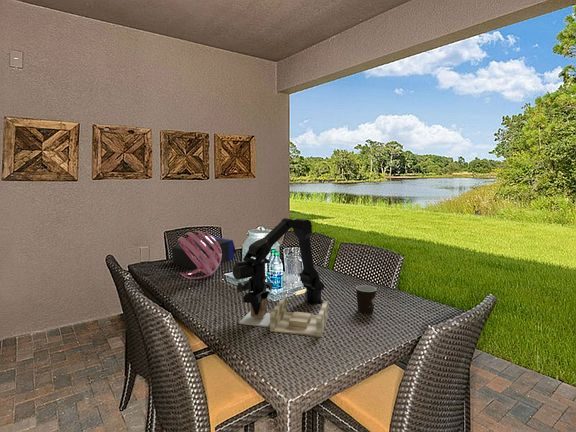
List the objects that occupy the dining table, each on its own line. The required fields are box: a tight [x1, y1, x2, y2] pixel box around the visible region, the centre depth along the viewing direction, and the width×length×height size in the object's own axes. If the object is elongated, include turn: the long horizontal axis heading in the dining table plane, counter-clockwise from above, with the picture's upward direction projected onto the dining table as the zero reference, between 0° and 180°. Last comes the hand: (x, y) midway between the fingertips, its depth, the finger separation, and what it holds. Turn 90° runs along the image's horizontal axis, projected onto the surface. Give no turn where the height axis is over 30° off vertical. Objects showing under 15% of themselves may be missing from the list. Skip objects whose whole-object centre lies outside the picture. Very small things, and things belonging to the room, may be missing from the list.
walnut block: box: [250, 298, 268, 318], centre depth 140 cm, size 5×5×6 cm
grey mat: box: [238, 310, 271, 328], centre depth 140 cm, size 12×12×1 cm
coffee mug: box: [355, 284, 377, 315], centre depth 149 cm, size 12×9×10 cm
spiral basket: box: [177, 230, 222, 280], centre depth 199 cm, size 28×28×27 cm
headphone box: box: [171, 236, 237, 270], centre depth 236 cm, size 25×35×14 cm
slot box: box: [269, 296, 329, 338], centre depth 136 cm, size 18×19×7 cm
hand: (258, 312), depth 140 cm, fingers closed on walnut block, 5 cm apart
